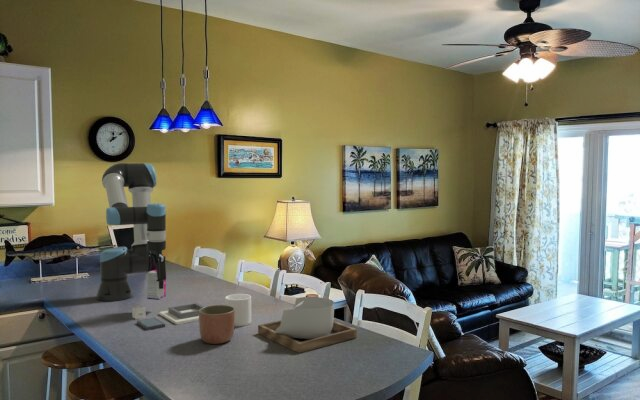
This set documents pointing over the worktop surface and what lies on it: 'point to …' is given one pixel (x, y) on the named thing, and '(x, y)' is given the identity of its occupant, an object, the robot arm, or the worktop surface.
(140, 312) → the white cube
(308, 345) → the wooden tray
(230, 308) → the planter
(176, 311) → the plate
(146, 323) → the phone
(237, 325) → the mug
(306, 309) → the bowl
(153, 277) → the supplement box
